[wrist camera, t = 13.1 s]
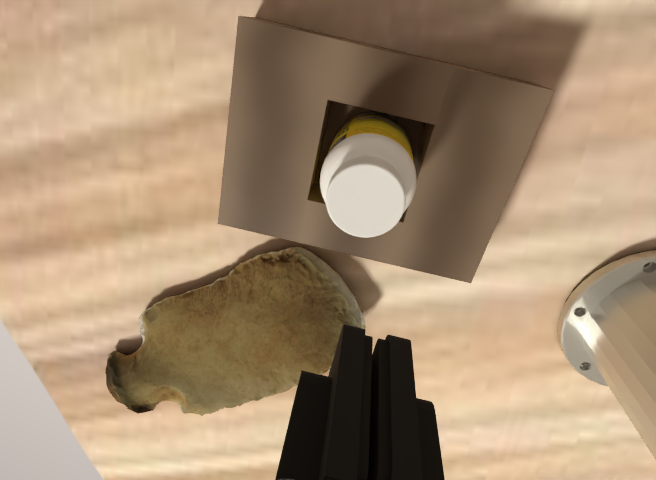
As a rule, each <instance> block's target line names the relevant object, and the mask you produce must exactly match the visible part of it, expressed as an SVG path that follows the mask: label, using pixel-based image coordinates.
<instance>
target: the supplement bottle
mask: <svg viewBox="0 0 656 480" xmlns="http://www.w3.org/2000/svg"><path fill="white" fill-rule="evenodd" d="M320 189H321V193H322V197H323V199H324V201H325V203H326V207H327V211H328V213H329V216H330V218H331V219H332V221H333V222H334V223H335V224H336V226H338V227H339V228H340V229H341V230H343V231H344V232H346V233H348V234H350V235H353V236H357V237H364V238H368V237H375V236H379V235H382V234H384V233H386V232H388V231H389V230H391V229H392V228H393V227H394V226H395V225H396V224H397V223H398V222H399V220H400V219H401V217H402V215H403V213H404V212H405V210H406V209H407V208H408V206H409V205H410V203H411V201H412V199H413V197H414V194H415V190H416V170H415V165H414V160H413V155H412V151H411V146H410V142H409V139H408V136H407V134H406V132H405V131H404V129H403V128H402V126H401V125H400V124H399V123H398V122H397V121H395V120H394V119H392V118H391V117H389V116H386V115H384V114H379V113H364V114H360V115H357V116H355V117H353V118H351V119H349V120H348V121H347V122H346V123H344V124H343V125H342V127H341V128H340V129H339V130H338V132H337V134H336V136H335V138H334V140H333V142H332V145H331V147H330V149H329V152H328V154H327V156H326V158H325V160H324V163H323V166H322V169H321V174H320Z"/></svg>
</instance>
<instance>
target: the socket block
mask: <svg viewBox="0 0 656 480" xmlns="http://www.w3.org/2000/svg"><path fill="white" fill-rule="evenodd" d="M553 93H554V90H551V89H548V88H545V87H543V86H540V85H537V84H534V83H530V82H526V81H522V80H518V79H513V78H509V77H505V76H501V75H496V74H492V73H488V72H484V71H479V70H475V69H471V68H467V67H462V66H458V65H454V64H450V63H445V62H441V61H437V60H433V59H429V58H424V57H420V56H416V55H412V54H407V53H403V52H399V51H395V50H390V49H386V48H382V47H378V46H373V45H369V44H365V43H361V42H356V41H352V40H348V39H344V38H340V37H335V36H331V35H327V34H323V33H318V32H314V31H310V30H306V29H301V28H297V27H293V26H289V25H284V24H280V23H276V22H272V21H268V20H263V19H259V18H255V17H242V16H238V26H237V37H236V47H235V57H234V67H233V77H232V87H231V97H230V107H229V117H228V127H227V137H226V147H225V157H224V167H223V178H222V188H221V198H220V208H219V218H218V224H222V225H226V226H230V227H235V228H239V229H243V230H247V231H252V232H256V233H260V234H264V235H269V236H273V237H277V238H281V239H286V240H290V241H294V242H298V243H303V244H307V245H311V246H315V247H319V248H324V249H328V250H332V251H336V252H341V253H345V254H349V255H353V256H358V257H362V258H366V259H370V260H375V261H379V262H383V263H387V264H392V265H396V266H400V267H404V268H409V269H413V270H417V271H421V272H426V273H430V274H434V275H438V276H443V277H447V278H451V279H455V280H460V281H464V282H468V283H471V282H472V280H473V277H474V275H475V273H476V270H477V268H478V266H479V263H480V261H481V259H482V256H483V254H484V252H485V250H486V247H487V245H488V243H489V240H490V238H491V236H492V233H493V231H494V229H495V226H496V224H497V222H498V220H499V217H500V215H501V213H502V210H503V208H504V206H505V203H506V201H507V199H508V197H509V194H510V192H511V190H512V187H513V185H514V183H515V180H516V178H517V176H518V173H519V171H520V169H521V167H522V164H523V162H524V160H525V157H526V155H527V153H528V150H529V148H530V146H531V144H532V141H533V139H534V137H535V134H536V132H537V130H538V127H539V125H540V123H541V120H542V118H543V116H544V114H545V111H546V109H547V107H548V104H549V102H550V100H551V97H552V95H553ZM331 101H336V102H340V103H344V104H348V105H353V106H357V107H361V108H365V109H370V110H374V111H378V112H382V113H386V114H391V115H395V116H399V117H403V118H408V119H412V120H416V121H420V122H425V123H426V124H425V127H424V131H423V134H422V137H421V140H420V143H419V147H418V150H417V153H416V156H415V160H414V165H415V170H416V190H415V194H414V197H413V199H412V201H411V203H410V205H409V206H408V208H407V209H406V210H405V212H404V213H403V215H402V217H401V219H400V220H399V222H398V223H397V224H396V225H395V226H394V227H393V228H392V229H391V230H389V231H388V232H386V233H384V234H382V235H379V236H375V237H368V238H364V237H357V236H353V235H350V234H348V233H346V232H344V231H343V230H341V229H340V228H339V227H338V226H336V224H335V223H334V222H333V221H332V219H331V218H330V216H329V213H328V211H327V207H326V203H325V201H324V199H323V197H322V193H321V189H320V184H318V183H314V182H315V177H316V172H317V167H318V163H319V158H320V153H321V148H322V143H323V138H324V133H325V128H326V123H327V119H328V114H329V109H330V104H331Z"/></svg>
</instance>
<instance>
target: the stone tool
mask: <svg viewBox="0 0 656 480" xmlns="http://www.w3.org/2000/svg"><path fill="white" fill-rule="evenodd" d="M139 319H140V321H139V323H140V325H141V329H140V332H141V336H142V338H143V342H142V345H141V346H140V348H139V349H138V350H137V351H136V352H135V353H133V354H131V355H124V354H122V353H120V352H117V351H113V352H111V353H110V354H109V358H108V360H107V367H106V382H107V387H108V390H109V391H110V393H111V394H112V396H113V397H114V398H115V399H116V400H117V402H120V403H122V404H124V405H126V406H127V407H128V408H127V409H130V410H132V411H134V412H136V413H143V412H147V411H151V410H154V408H155V407H156V405H157V404H158V403H160V402H162V401H172V402H176V403H178V405H179V407H180V409H181V410H182V412H183V413H195V414H200V415H201V416H202V415H204V414H211V413H213V412H215V411H218V410H219V409H223V408H224V407H226V408H233V407H236V406H240V405H242V404H244V403H247V402H250V401H253V400H255V401H258V400H260V399H262V398H263V397H268V396H272V395H274V394H277V393H282V392H285V391H287V390H289V389H290V388H292V387H293V386H295V385H298V383H299V379H300V375H301V371H307V372H311V373H315V374H319V375H321V374H323V373H325V372H327V371H328V370H329V369H331V365H332V362H333V358H334V354H335V351H336V347H337V344H338V340H339V337H340V333H341V330H342V327H343V324H346V325H350V326H354V327H358V328H362V329H365V322H364V318H363V315H362V312H361V311H360V308H359V305H358V303H357V301H356V298H355V296H354V295H353V294H352V292H351V291H350V290H349V288H348V287H347V285H346V284H345V283H344V281H343V280H342V278H341V276H340V275H339V274H338V273H337V272H336V271H335V270H333V269H332V268H331V267H330V266H329V265H328V264H327V263H325V262H324V261H323V260H321V259H320V258H318V257H317V256H316V255H314V254H313V253H312V252H310V251H308V250H306V249H304V248H302V247H290V248H287V249H285V250H284V249H282V250H280V251H278V252H275V251H272V252H268V253H264V254H260V255H257V256H255V257H252V258H250V259H248V260H246V261H244V262H240V263H239V264H238V265H237V266H236V267H235V268H233V269H232V270H231V271H230V273H229V274H228V275H227V276H225V277H220V278H218V279H217V280H216V281H214V282H213V283H212V284H209V285H206V286H203V287H200V288H198V289H193V290H190V291H187V292H185V293H183V294H180V295H175V296H170V297H167V298H165V299H163V300H162V301H159V302H156V303H155V304H154V305H153V306H152V307H149V308H148V309H147V310H145V311H144V312H143V313H142V315H141V316H140V318H139Z"/></svg>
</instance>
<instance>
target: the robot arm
mask: <svg viewBox="0 0 656 480" xmlns="http://www.w3.org/2000/svg"><path fill="white" fill-rule="evenodd" d="M557 333H558V341H559V344H560V346H561V349H562V351H563V353H564V355H565V357H566V358H567V360H568V361H569V363H570V365H571V366H572V367H573V368H574V369H575V370H576V371H577V372H578V373H580V374H581V375H583V376H584V377H586V378H587V379H589V380H591V381H593V382H596V383H598V384H601V385H604V386H608V387H609V388H610V389H611V391H612V393H613V394H614V396H615V397H616V399H617V400H618V402H619V403H620V405H621V407H622V408H623V410H624V411H625V413H626V414H627V416H628V417H629V419H630V421H631V422H632V424H633V425H634V427H635V428H636V430H637V432H638V433H639V435H640V436H641V438H642V439H643V441H644V442H645V444H646V446H647V447H648V449H649V450H650V452H651V453H652V455H653V456H654V458H655V460H656V250H653V251H646V252H641V253H637V254H633V255H629V256H626V257H624V258H621V259H619V260H616V261H614V262H611V263H610V264H608V265H606V266H604V267H602V268H601V269H599V270H597V271H595V272H594V273H593V274H592V275H590V276H589V277H588V278H587V279H585V280H584V281H583V282H582V283H581V284H580V285H579V286H578V287H577V288H576V289H575V290H574V291H573V292H572V293H571V295H570V296H569V298H568V300H567V301H566V303H565V304H564V306H563V309H562V311H561V314H560V316H559V321H558V328H557ZM275 480H444V472H443V465H442V458H441V451H440V444H439V436H438V429H437V422H436V415H435V409H434V405H433V403H432V402H430V401H426V400H422V399H418V398H416V391H415V380H414V370H413V359H412V348H411V341H410V340H408V339H404V338H400V337H396V336H391V335H387V337H386V339H385V340H383V339H378V340H377V343H376V345H375V348H374V351H373V354H372V337H370V336H366V335H365V329H362V328H358V327H354V326H350V325H346V324H343V327H342V330H341V333H340V337H339V340H338V344H337V347H336V351H335V354H334V358H333V362H332V365H331V369H330V372H329V376H328V377H327V376H323V375H319V374H315V373H311V372H307V371H301V375H300V379H299V383H298V387H297V391H296V395H295V400H294V404H293V408H292V412H291V416H290V420H289V425H288V429H287V433H286V437H285V441H284V446H283V450H282V454H281V458H280V463H279V467H278V471H277V475H276V479H275Z"/></svg>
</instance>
